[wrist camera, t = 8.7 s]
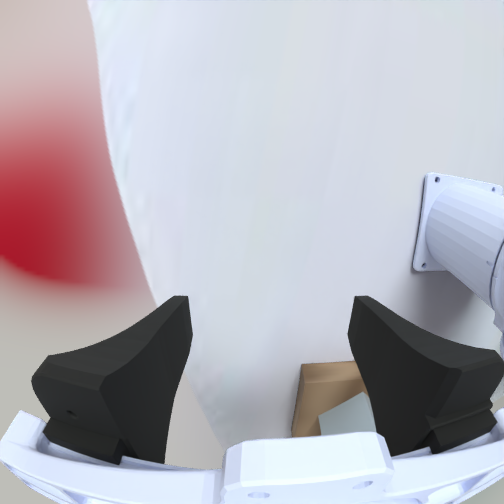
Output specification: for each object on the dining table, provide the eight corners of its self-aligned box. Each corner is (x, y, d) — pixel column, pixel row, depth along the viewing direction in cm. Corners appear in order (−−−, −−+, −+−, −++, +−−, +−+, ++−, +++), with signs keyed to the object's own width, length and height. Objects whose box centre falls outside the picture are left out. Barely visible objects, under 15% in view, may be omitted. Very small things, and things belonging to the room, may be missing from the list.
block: (363, 391, 23) (377, 432, 19) (381, 411, 25) (395, 447, 20) (318, 415, 24) (325, 456, 20) (341, 433, 26) (349, 469, 21)
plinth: (407, 354, 25) (416, 370, 22) (378, 419, 29) (384, 434, 26) (301, 364, 25) (305, 383, 23) (291, 429, 29) (292, 446, 27)
